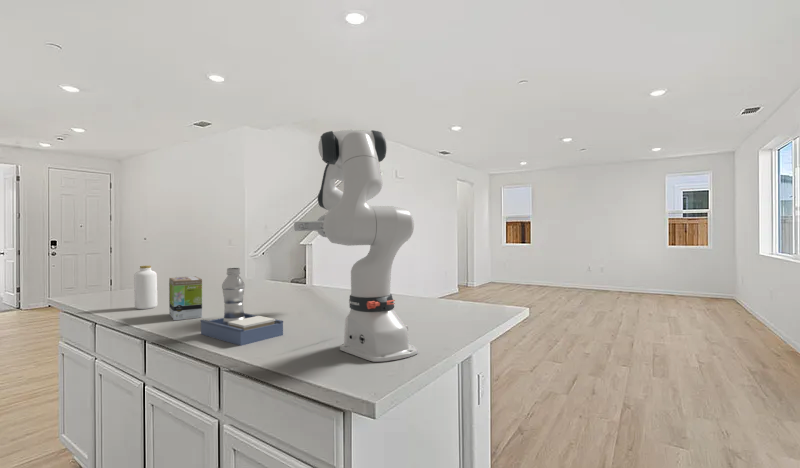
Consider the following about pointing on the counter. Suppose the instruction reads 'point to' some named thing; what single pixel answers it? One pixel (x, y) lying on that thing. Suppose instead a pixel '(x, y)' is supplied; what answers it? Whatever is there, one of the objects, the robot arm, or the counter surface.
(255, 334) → the tote
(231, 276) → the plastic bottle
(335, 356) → the counter surface
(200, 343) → the counter surface
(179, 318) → the tea box
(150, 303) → the potion bottle
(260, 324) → the carton
